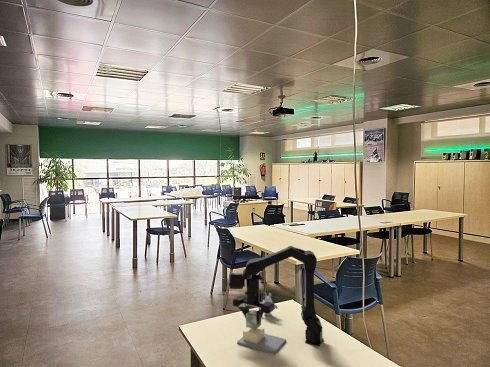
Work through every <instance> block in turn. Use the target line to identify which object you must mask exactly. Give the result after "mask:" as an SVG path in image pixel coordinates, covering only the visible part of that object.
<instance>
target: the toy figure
mask: <svg viewBox="0 0 490 367" xmlns="http://www.w3.org/2000/svg"><path fill="white" fill-rule="evenodd" d="M271 297H272V293H271V292H269V293H268V295H267V294H266V296H265V300H262V302H260V303H261V304H264V303H265V302H271V303H274V302H273V299H272V298H271ZM274 305H275V309H276V310H277V309H278V306H277V305H278V304H275V303H274ZM263 316H269V317H270V316H272V312H271V313H269V314H267V313H263Z"/></svg>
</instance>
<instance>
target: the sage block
mask: <svg viewBox="0 0 490 367" xmlns="http://www.w3.org/2000/svg"><path fill="white" fill-rule="evenodd" d="M257 311H258V310H255V309H249V312H247V313H246V318H245V327H246V328H247V327H248V328H252V329H257V328H258V327H261V326H262V321H261V322H260V324H259V325H258V323H257V313H256V312H257Z"/></svg>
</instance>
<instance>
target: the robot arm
mask: <svg viewBox="0 0 490 367" xmlns="http://www.w3.org/2000/svg"><path fill="white" fill-rule="evenodd" d="M289 258H293V259H295V260H297V261H299V262H301V263H302V264H303V269H304V297H305V298H304V304H303V305H300V307H301V312H300V315H301V319H302V321H303V324H304V325H305V326H306V329H305V331H304V332H305V333H304V334H305V338H304V339H305V341H304V342H305V343H306V344H310V345H313V346H319V347H320V346H321V344H322V343H323V341H324V339H325V338H324V337H323V326H322V322H321V320H320V318H319V317H318V315H317V311H316V308H315V271H316V268H317V263H318V262H317V261H318V258H317V256H316V254H315V253H314V252H313V251H311V250H304V249H301V248H298V247H295V246H293V245H289V246H287V247H285V248H282V249H280V250H278V251H276V252H273V253H271V254H269V255H266V256H264V257H256V258H251V259H249V260H248V261H247V262H246V265H245V269H244V270H243V271H242V273H235V272H230V275H229V276H230V277H229V289H230V290H243V288H245V287H246V291H245V292H244V294H245V296H246V297H245V296H240V295H238V296H237V297H235V298H234V299H232V306H233V307H237V308H238V310H240V311H241V313H242V314H243V316H244V318H245V319H246V313H247V312H249V311H250V307H254V308H258V310H256V311H257V312H256V313H257V323H258V325H259V324H260V322H261V323H262V318H263V316H264V313H267V314H269V313H271V314H272V312H273V311H274V310H275V309H276V308H275V305H276V304H275V303H274V302H273V303H271V302H265V303H264V304H261V303H262V302H263V300H265V296H266V295H267V293H266V292H262V290H261V289H260V281H261V280H264V275H263V274H261V272H262V271H264V269H266V268H267V267H270V266H273V265H274V264H277V263H279V262H282V261H284V260H287V259H289ZM274 304H275V305H274Z"/></svg>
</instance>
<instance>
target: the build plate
mask: <svg viewBox="0 0 490 367" xmlns="http://www.w3.org/2000/svg"><path fill="white" fill-rule="evenodd" d="M286 342H287V338H284V337H279V336H276V335H271V334H268V333H265V328H264V327H261V326H259V327H258V328H257V329H252V328H248V327H246V328H244V329H243V330H242V337H240V339H238V340H237V344H238V345H240V346H244V347H248V348H251V349H255V350H258V351H261V352H266V353H268V354H272V355H275V354H276V353H277V352H278V351H279V350H280V349H281V348H282V347H283V346H284V345H285V343H286ZM237 344H236V345H237Z"/></svg>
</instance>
